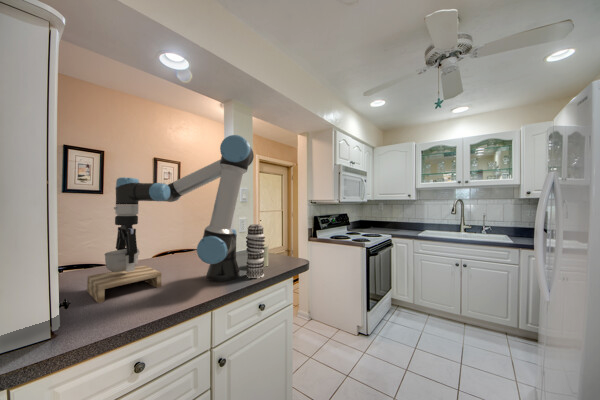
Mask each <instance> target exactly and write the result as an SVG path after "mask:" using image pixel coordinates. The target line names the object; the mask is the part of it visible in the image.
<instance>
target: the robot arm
mask: <svg viewBox="0 0 600 400" xmlns="http://www.w3.org/2000/svg"><path fill="white" fill-rule="evenodd" d="M219 149H220V150H219V151H220V154H221V156H220V159H219V160H216V161H214V162H212V163H210V164H208V165H205V166H204V167H201V168H199V169H198V170H196V171H194V172H191V173H190V174H187V175H184V176H183V177H181V178H179V179H177V180H174V181H172V182H171V183H169V184H167V183H163V182H162V183H161V182H145V183H144V182H140V180H139V179H138V178H136V177H135V178H134V177H118V178H116V182H115V187H114V188H115V206H114V207H113V210H115V212H114V213H115V215H116V216H114V225H116V226H118V227H117V236H116V241H115V242H116V244H115V249H116V250H123V249H127V253H126V254H125V256H126V272H130V271H135V267H136V266H135V254H136V253H137V248H138V245H137V244H138V243H137V229H136V228H133V226H134V225H137V224H139V216H138V215H139V202H168V203H172V202H177V201H178V200H180V198H181V197H182V196H184V195H186V194H188V193H191V192H193V191H195V190H197V189H199V188H201V187H203V186H206V185H207V184H209V183H212V182H214V181H216V180H217V179H219V184H218V187H217V191H216V196H215V201H214V205H213V210H212V213H211V218H210V222H209V225H207V226H206V227H205V228H204V232H203V236H202V239H200V240H199V242H198V244H197V247H196V253H197V256H198V258H199V259H200V260H201V261H202V262H203V263H205V264H209V266H208V269H207V272H206V279H207V281H210V282H228V281H231V280H235V279H237V278H239V277H240V273H241V271H240V267H239V265H238V261H237V229H234V228H232V224H233V218H234V214H235V210H236V205H237V202H238V197H239V192H240V189H241V188H240V187H241V183H242V178H243V175H244V174H246V173H247V172H248V168H249V167H250V165H251V164H252V163H253V161H254V158H255V157H254V156H255V155H254V151H253V148H252V147H251V144H250V143H249V141H248V140H247V139H246V138H245V137H243V136H241V135H240V134H239V135H238V134H231V135H228V136H227V137H224V139H223V140H222V141H221V143H220V146H219Z"/></svg>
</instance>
